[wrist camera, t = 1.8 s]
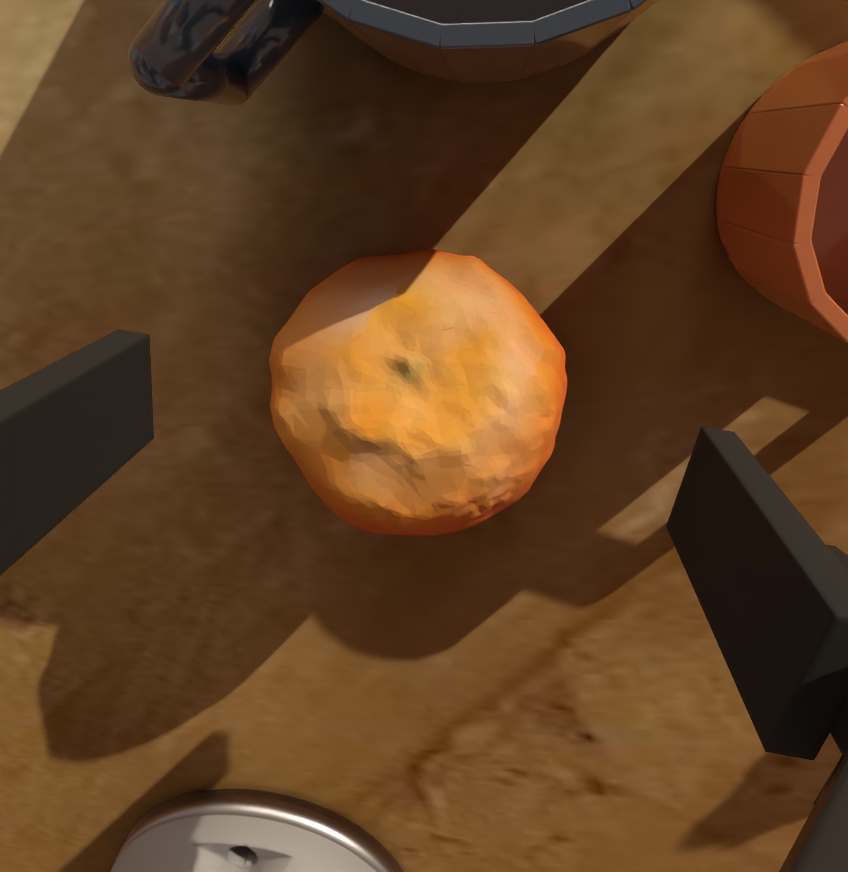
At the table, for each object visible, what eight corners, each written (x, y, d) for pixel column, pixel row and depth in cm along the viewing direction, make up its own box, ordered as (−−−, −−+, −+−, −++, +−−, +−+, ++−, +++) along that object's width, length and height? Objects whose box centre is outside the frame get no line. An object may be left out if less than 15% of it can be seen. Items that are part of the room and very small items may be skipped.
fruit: (294, 518, 23) (218, 519, 15) (325, 302, 24) (268, 196, 16) (524, 546, 23) (568, 562, 15) (546, 325, 24) (598, 230, 16)
